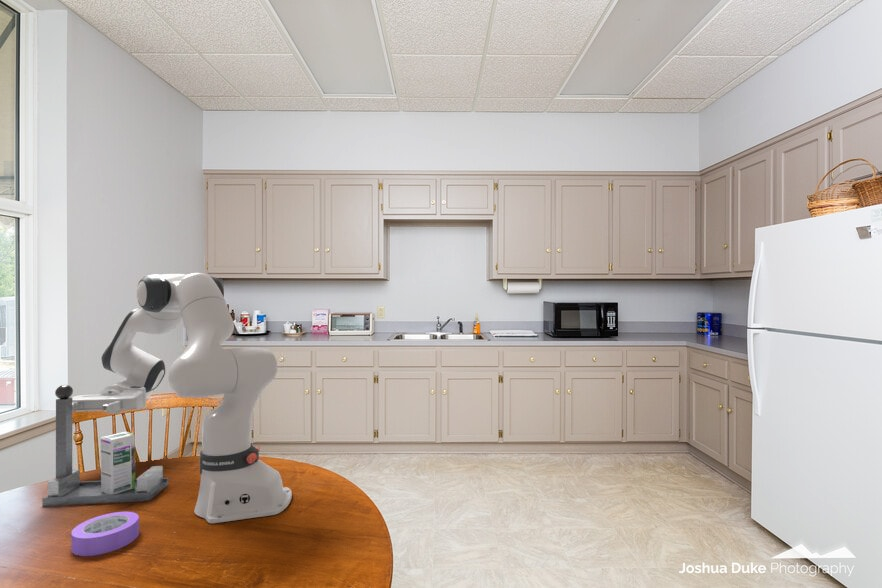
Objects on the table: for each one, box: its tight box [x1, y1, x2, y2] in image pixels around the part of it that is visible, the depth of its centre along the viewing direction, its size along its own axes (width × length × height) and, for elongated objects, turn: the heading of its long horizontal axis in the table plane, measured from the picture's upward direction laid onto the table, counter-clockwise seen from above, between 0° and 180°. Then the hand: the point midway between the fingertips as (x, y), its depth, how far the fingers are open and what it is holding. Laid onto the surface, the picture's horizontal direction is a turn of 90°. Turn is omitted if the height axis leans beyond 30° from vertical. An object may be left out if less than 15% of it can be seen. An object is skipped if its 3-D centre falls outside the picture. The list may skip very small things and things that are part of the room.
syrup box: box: [100, 431, 136, 494], centre depth 121 cm, size 6×6×14 cm
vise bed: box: [41, 465, 169, 507], centre depth 120 cm, size 25×10×6 cm, turn 97°
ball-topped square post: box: [47, 384, 81, 497], centre depth 119 cm, size 4×8×28 cm, turn 7°
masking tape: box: [70, 511, 140, 557], centre depth 98 cm, size 12×12×4 cm
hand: (87, 409), depth 128 cm, fingers open, 8 cm apart
